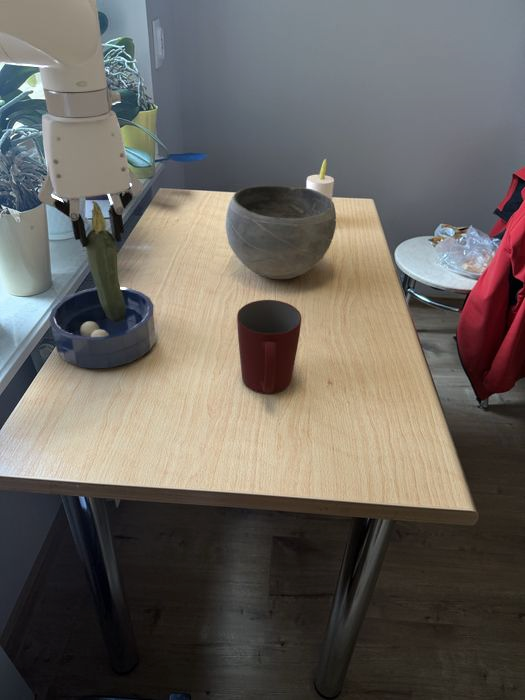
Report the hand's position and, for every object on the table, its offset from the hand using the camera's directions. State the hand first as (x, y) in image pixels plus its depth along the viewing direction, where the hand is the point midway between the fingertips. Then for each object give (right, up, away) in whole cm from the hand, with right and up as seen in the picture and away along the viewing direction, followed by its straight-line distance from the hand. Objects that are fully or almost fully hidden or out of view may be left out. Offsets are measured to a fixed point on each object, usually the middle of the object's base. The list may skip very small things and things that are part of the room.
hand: (100, 239), depth 76 cm
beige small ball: (-4, -13, +8) cm, 16 cm away
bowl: (+27, 0, +32) cm, 41 cm away
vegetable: (0, -12, +9) cm, 15 cm away
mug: (+24, -21, +2) cm, 32 cm away
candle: (+36, +15, +53) cm, 66 cm away
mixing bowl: (-2, -15, +10) cm, 18 cm away
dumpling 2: (-2, -14, +6) cm, 16 cm away
